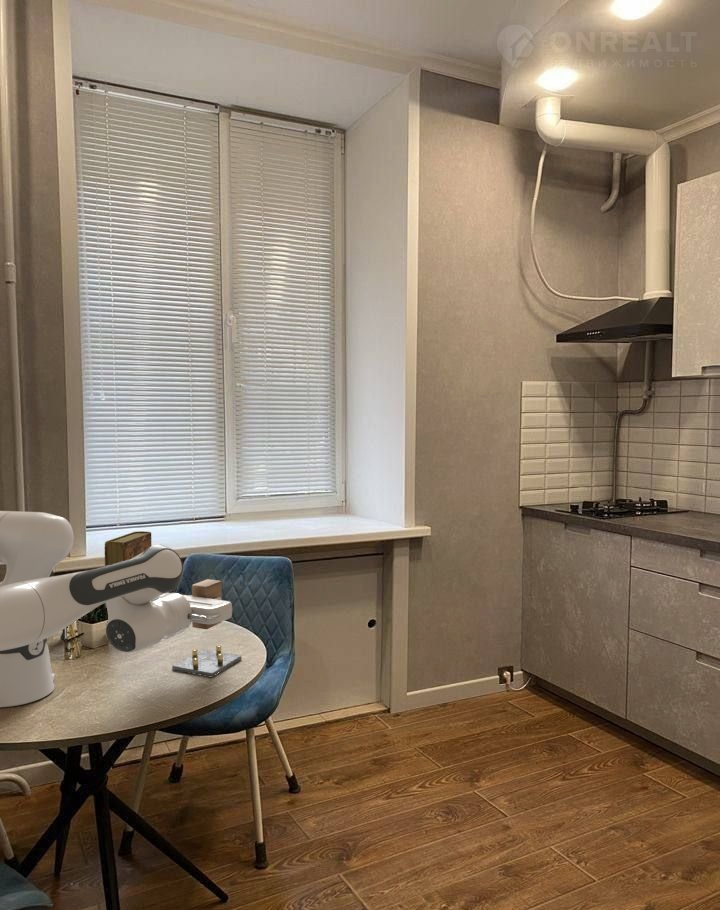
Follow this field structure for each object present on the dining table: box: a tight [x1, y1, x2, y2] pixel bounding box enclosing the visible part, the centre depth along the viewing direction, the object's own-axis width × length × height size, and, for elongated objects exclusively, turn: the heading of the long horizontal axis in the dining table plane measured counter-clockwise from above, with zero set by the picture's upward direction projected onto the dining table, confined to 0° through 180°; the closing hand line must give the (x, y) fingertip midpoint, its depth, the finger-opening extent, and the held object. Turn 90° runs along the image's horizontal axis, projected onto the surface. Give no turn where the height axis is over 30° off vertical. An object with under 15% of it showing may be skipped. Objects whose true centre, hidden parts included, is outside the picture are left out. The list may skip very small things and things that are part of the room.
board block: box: [191, 578, 223, 630], centre depth 163 cm, size 4×6×10 cm, turn 156°
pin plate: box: [171, 644, 242, 677], centre depth 164 cm, size 11×12×3 cm
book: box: [104, 530, 152, 566], centre depth 193 cm, size 16×6×25 cm, turn 168°
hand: (209, 598), depth 164 cm, fingers closed on board block, 4 cm apart
